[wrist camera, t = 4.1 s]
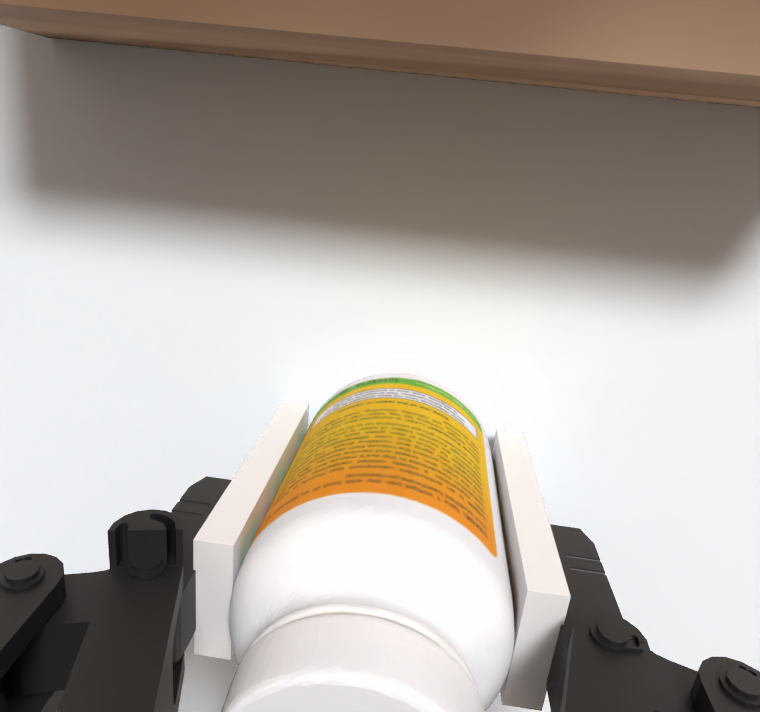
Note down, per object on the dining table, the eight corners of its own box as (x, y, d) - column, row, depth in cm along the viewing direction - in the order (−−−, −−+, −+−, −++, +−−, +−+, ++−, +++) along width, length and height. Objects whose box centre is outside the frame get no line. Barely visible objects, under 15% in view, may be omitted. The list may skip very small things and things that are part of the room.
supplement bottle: (280, 397, 17) (92, 674, 8) (459, 344, 16) (474, 595, 7) (344, 548, 19) (246, 925, 10) (512, 509, 18) (582, 894, 8)
